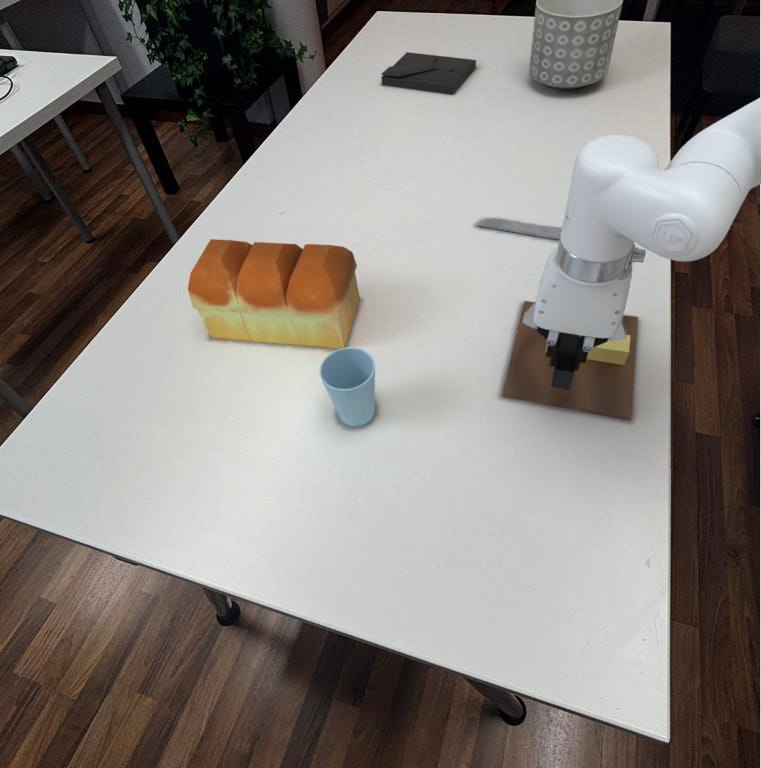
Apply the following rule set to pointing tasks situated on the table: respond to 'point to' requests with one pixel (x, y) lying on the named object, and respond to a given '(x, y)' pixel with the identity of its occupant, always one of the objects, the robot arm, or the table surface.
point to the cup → (350, 384)
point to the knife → (521, 228)
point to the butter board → (589, 384)
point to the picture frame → (429, 73)
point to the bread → (276, 292)
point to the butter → (611, 351)
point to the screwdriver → (565, 361)
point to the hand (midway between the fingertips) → (564, 360)
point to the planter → (573, 41)
